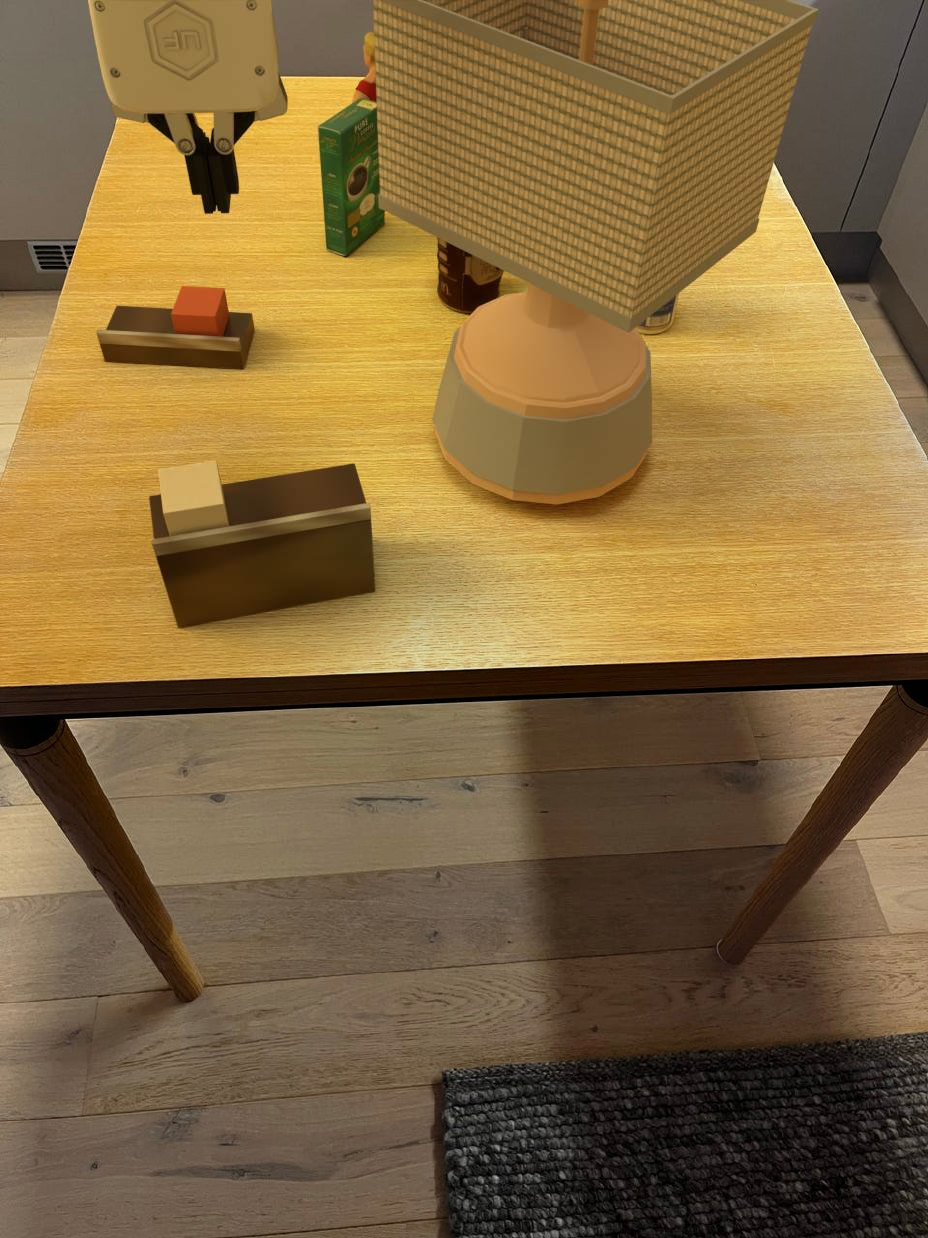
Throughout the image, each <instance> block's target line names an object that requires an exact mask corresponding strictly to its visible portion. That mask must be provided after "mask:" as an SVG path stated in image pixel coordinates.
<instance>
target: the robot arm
mask: <svg viewBox="0 0 928 1238" xmlns="http://www.w3.org/2000/svg"><path fill="white" fill-rule="evenodd" d="M87 3H88V10H89V15H90V20H91V21H90V22H91V25H92V29H93V30H92V31H93V37H94V43H95V47H96V52H97V53H96V54H97V58H98V63H99V67H100V72H101V77H102V81H103V85H104V88H105V91H106V94H107V96H108V98H109V100H110V105H111V106H110V107H111V112H112V114H113V115H114V116H115V117H116V118H119V119H123V120H127V121H132V122H137V123H141V124H145V123H146V124H149V125H151V126H152V127H153V128H154V129H156V130H157V131H158V132H159V133H161V134H162V135H163V136H164V137H166V138H167V139H168V140H169V141H170V142H172V143H173V144H174V145H175V148H176V150H177V151H178V152H179V153H180V154H182V155H183V156H184V161H185V165H186V171H187V176H188V180H189V186H190V191H191V194H192V196H200V199H201V202H202V207H203V213H204V214H205V215H213V214H214V212H220V214H230V211H231V199H232V195H239V194H240V179H239V173H238V167H237V159H236V154H235V145H236V144H237V143H238V142H239V140H240V139H241V138H242V137H243V135H244V134H245V133H246V132H248V131H249V129H250V127H251V126H252V125H253V124H254V123H256V122H258V121H259V122H262V121H266V120H267V121H268V120H270V119H273V118H277V117H281V116H284V115H285V114H286V113H287V112H288V107H289V106H288V105H289V98H288V97H289V96H288V95H287V91H286V89H285V86H284V82H283V80H282V78H281V73H280V71H279V46H278V38H277V30H276V24H275V18H274V12H273V7H272V0H87ZM196 114H213V127H212V129H211V132H210V137H209V136H207V134H206V132H205V131H204V129H203V128H201V126H200V125H199V121H198V119H197V115H196Z"/></svg>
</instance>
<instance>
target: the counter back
mask: <svg viewBox="0 0 928 1238" xmlns="http://www.w3.org/2000/svg"><path fill="white" fill-rule="evenodd" d="M172 310H173V308H167V307H149V306H135V305H134V306H133V305H132V306H131V305H116V306H115V308H114V310H113V312H112V315H111V317H110V319H109V322H108V324H107V326H106V328H105V329H96V333H95V334H96V336H97V337H96V338H97V341H98V343H99V347H100V350H101V354H102V357H103V360H104V362H108V363H109V362H110V363H125V364H126V363H127V364H128V363H129V364H144V365H161V366H180V367H196V368H197V367H198V368H211V369H212V368H215V369H231V370H244V369H245V366H246V362H247V358H248V356H249V353H250V349H251V346H252V341H253V338H254V335H255V331H256V329H255V322H254V316H253V313H252V312H238V311H237V312H236V311H229V318H228V322H227V325H226V328H225V331H224V334H223V337H218V336H200V335H182V334H175V330H174V325H173V321H172V317H171V313H172Z"/></svg>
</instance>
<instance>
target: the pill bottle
mask: <svg viewBox="0 0 928 1238" xmlns="http://www.w3.org/2000/svg"><path fill="white" fill-rule="evenodd" d="M679 297H680V293H678V294H677V295H676V296H675V297H673V298H672V299H671V300H669V301H668V302H667V303H666V304H664V305H663V306H662V307H661V308H659V309H658V310H657V311H656V312H654V313H653V314H652V315H651V316H649V317H648V318H647V319H646V320H644V321H643V322H642V323H640V324H639V325H638V326H637V327H636V329H637V330H638V332H639V333H640V334H644V335H656V334H660V333H663V332H665V331H667V330H668V329H669V328H671V326H672V325H673V323H674V319H675V315H676V314H675V313H676V310H677V305H678V300H679Z"/></svg>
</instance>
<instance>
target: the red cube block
mask: <svg viewBox="0 0 928 1238" xmlns="http://www.w3.org/2000/svg"><path fill="white" fill-rule="evenodd" d="M228 305H229V304H228V300H227V294H226V288H224V287H207V286H193V285H192V286H191V285H190V286H189V285H181V287H180V289H179V292H178V294H177V297H176V299H175V303H174V305H173V308H172V309H173V310H172V313H171V317H172V321H173V325H174V330H175V334H182V335H200V336H218V337H223V334H224V331H225V328H226V325H227V322H228V318H229V312H230V311H229V306H228Z"/></svg>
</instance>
